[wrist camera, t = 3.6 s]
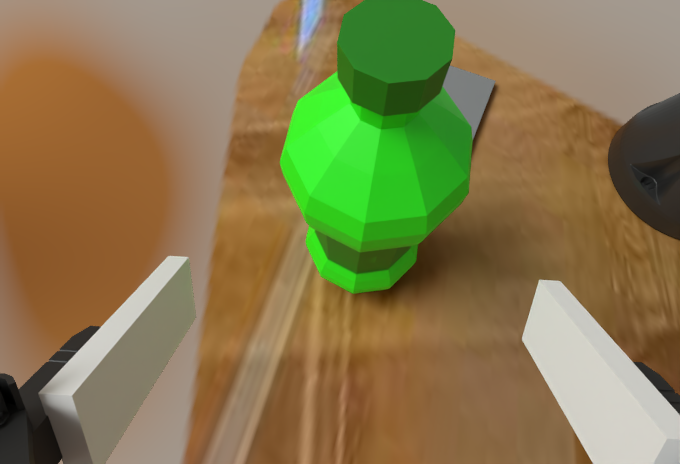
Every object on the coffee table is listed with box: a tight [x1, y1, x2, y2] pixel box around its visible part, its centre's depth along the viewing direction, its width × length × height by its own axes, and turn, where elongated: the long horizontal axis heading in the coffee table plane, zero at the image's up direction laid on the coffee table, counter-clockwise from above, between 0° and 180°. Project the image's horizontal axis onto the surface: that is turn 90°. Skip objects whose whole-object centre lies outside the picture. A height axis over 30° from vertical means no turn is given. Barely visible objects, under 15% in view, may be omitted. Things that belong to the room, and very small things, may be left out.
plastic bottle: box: [280, 0, 473, 294], centre depth 26 cm, size 10×10×25 cm
